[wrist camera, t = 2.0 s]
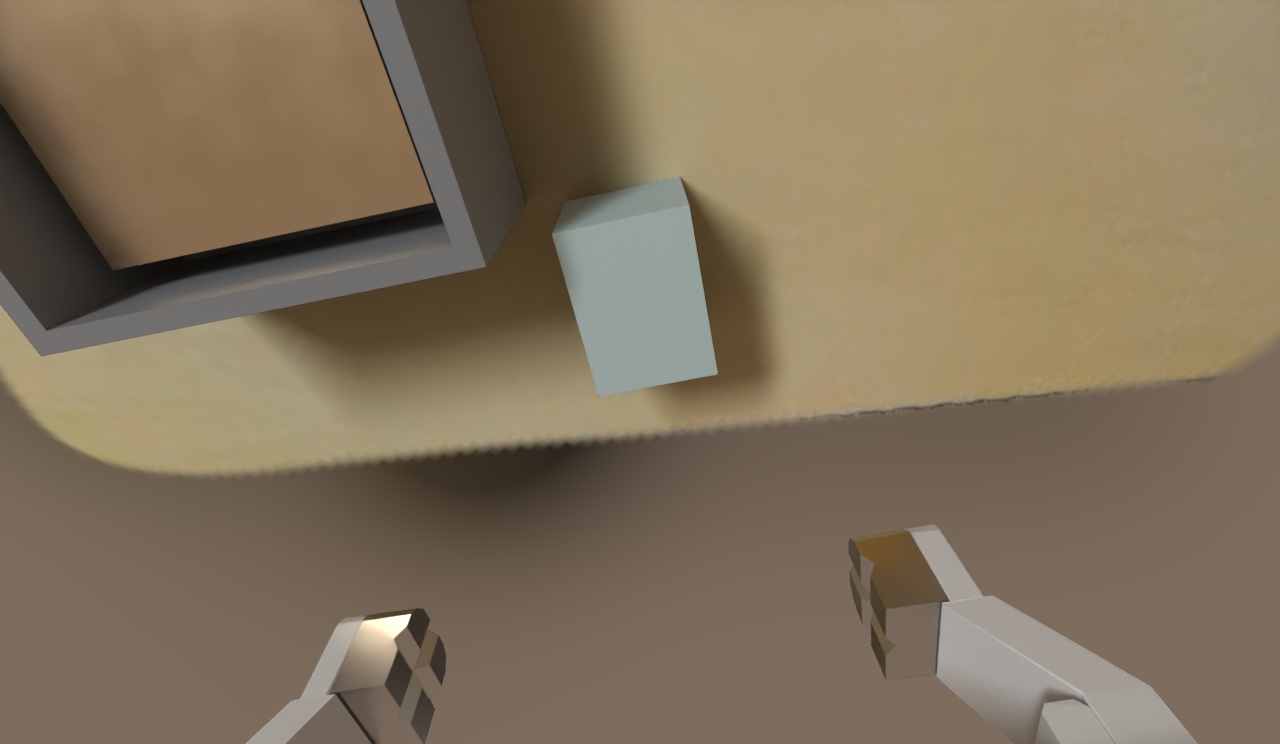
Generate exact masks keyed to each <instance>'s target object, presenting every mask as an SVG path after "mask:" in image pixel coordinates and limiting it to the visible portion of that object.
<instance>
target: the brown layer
mask: <svg viewBox="0 0 1280 744" xmlns="http://www.w3.org/2000/svg"><path fill="white" fill-rule="evenodd" d="M0 102H1V104H2V105H3V107H4V108H5V110H6V111H7V113H8V114H9V116H10V117H11V119H12V120H13V122H14V123H15V125H16V126H17V128H18V129H19V131H20V132H21V134H22V135H23V137H24V138H25V140H26V141H27V143H28V144H29V146H30V147H31V149H32V150H33V152H34V153H35V155H36V156H37V158H38V159H39V161H40V162H41V164H42V165H43V167H44V168H45V170H46V171H47V173H48V174H49V176H50V177H51V179H52V180H53V182H54V183H55V185H56V186H57V188H58V189H59V191H60V192H61V194H62V195H63V197H64V198H65V200H66V201H67V203H68V204H69V206H70V207H71V209H72V210H73V212H74V213H75V215H76V216H77V218H78V219H79V221H80V222H81V224H82V225H83V227H84V228H85V230H86V231H87V233H88V234H89V236H90V237H91V239H92V240H93V242H94V243H95V245H96V246H97V248H98V249H99V251H100V252H101V254H102V255H103V257H104V258H105V260H106V261H107V263H108V264H109V266H110V267H111V269H112V270H118V269H123V268H127V267H132V266H137V265H142V264H146V263H151V262H156V261H160V260H165V259H170V258H174V257H179V256H184V255H189V254H193V253H198V252H203V251H207V250H212V249H217V248H221V247H226V246H231V245H235V244H240V243H245V242H250V241H254V240H259V239H264V238H268V237H273V236H278V235H282V234H287V233H292V232H297V231H301V230H306V229H311V228H315V227H320V226H325V225H329V224H334V223H339V222H344V221H348V220H353V219H358V218H362V217H367V216H372V215H376V214H381V213H386V212H391V211H395V210H400V209H405V208H409V207H414V206H419V205H423V204H428V203H433V202H435V201H436V200H435V197H434V195H433V192H432V189H431V186H430V184H429V181H428V178H427V176H426V173H425V170H424V167H423V165H422V162H421V159H420V156H419V154H418V151H417V148H416V145H415V143H414V140H413V137H412V135H411V132H410V129H409V126H408V124H407V121H406V118H405V115H404V113H403V110H402V107H401V104H400V102H399V99H398V96H397V94H396V91H395V88H394V85H393V83H392V80H391V77H390V74H389V72H388V69H387V66H386V63H385V61H384V58H383V55H382V53H381V50H380V47H379V44H378V42H377V39H376V36H375V33H374V31H373V28H372V25H371V22H370V20H369V17H368V14H367V12H366V9H365V6H364V3H363V1H362V0H0Z"/></svg>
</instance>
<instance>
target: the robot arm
mask: <svg viewBox="0 0 1280 744" xmlns="http://www.w3.org/2000/svg"><path fill="white" fill-rule="evenodd" d="M849 555H850V558H851V560H852V562H853V565H854V566H853V567H852V568H851V570H850V584H851V589H852V594H853V599H854V602H855V605H856V609H857V611H858V614H859V617H860V619H861V622H862V624H864V625H865V626H867V627H868V628H870V629H871V646H872V648H873V651H874V653H875V655H876V658H877V660H878V662H879V665H880V667H881V670H882V672H883V675H884V677H885V679H886V680H892V679H900V678H909V677H918V676H927V675H936V674H937V678H938V679H940V680H941V681H942V682H943V683H944V684H945V685H946V686H948V687H949V688H950V689H951V690H952V691H953V692H955V693H956V694H957V695H958V696H959V697H960V698H961V699H963V700H964V701H965V702H966V703H967V704H968V705H970V706H971V707H972V708H973V709H974V710H975V711H976V712H978V713H979V714H980V715H981V716H983V718H985V719H986V720H987V721H988V722H989V723H990V724H992V725H993V726H994V727H995V728H996V729H997V730H998V731H1000V732H1001V733H1002V734H1003V735H1004V736H1005V737H1007V738H1008V739H1009V740H1010V741H1011V742H1013V743H1014V744H1197V743H1196V741H1195V740H1194V739H1193V738H1192V737H1191V735H1190V734H1189V733H1188V732H1187V731H1186V729H1185V728H1184V727H1183V726H1182V724H1181V723H1180V722H1179V721H1178V719H1177V718H1176V717H1175V716H1174V715H1173V713H1172V712H1171V711H1170V710H1169V708H1168V707H1167V706H1166V705H1165V704H1164V703H1163V701H1162V700H1161V699H1160V697H1159V696H1158V695H1157V694H1156V693H1155V691H1154V690H1153V689H1152V688H1151V687H1150V686H1149V685H1147V684H1145V683H1143V682H1142V681H1140V680H1138V679H1136V678H1135V677H1133V676H1131V675H1130V674H1128V673H1126V672H1125V671H1123V670H1121V669H1119V668H1117V667H1116V666H1114V665H1113V664H1111V663H1109V662H1107V661H1106V660H1104V659H1102V658H1100V657H1099V656H1097V655H1095V654H1094V653H1092V652H1090V651H1088V650H1087V649H1085V648H1083V647H1081V646H1080V645H1078V644H1076V643H1074V642H1073V641H1071V640H1069V639H1068V638H1066V637H1064V636H1063V635H1061V634H1059V633H1057V632H1056V631H1054V630H1052V629H1051V628H1049V627H1047V626H1045V625H1043V624H1042V623H1040V622H1039V621H1037V620H1035V619H1033V618H1032V617H1030V616H1028V615H1026V614H1025V613H1023V612H1021V611H1020V610H1018V609H1016V608H1014V607H1013V606H1011V605H1009V604H1007V603H1006V602H1004V601H1002V600H1001V599H999V598H997V597H995V596H994V595H992V596H984V595H983V594H982V592H981V591H980V589H979V588H978V586H977V585H976V583H975V582H974V580H973V579H972V577H971V576H970V574H969V572H968V571H967V569H966V568H965V567H964V565H963V564H962V562H961V560H960V559H959V557H958V556H957V554H956V553H955V551H954V550H953V548H952V547H951V545H950V544H949V542H948V541H947V539H946V538H945V536H944V535H943V533H942V532H941V530H940V529H939V528H938V527H937V526H935V525H934V524H933V525H926V526H921V527H914V528H909V529H905V530H903V529H902V530H895V531H890V532H884V533H878V534H872V535H866V536H861V537H855V538H850V540H849ZM429 622H430V618H429V617H428V615H427V614H426V612H425V610H424V609H422V608H415V609H408V610H400V611H393V612H384V613H377V614H370V615H365V616H358V617H351V618H345V619H343V620H342V621H341V622H340V623H339V624H338V625H337V626H336V628H335V630H334V632H333V634H332V636H331V638H330V640H329V642H328V644H327V646H326V648H325V650H324V652H323V654H322V656H321V658H320V660H319V662H318V664H317V666H316V668H315V670H314V672H313V674H312V676H311V678H310V680H309V682H308V684H307V686H306V688H305V690H304V692H303V694H302V696H301V698H300V699H298V700H292V701H291V702H290V703H289V704H288V705H287V706H286V707H285V708H284V709H282V711H280V712H279V713H278V714H277V715H276V716H275V717H274V718H273V719H272V720H271V721H269V722H268V723H267V724H266V725H265V726H264V727H263V728H262V729H261V730H260V731H259V732H258V733H257V734H255V735H254V737H252V738H251V739H250V740H249V741H248V742H247V743H246V744H425V742H426V738H427V735H428V731H429V728H430V724H431V721H432V718H433V714H434V711H435V709H434V706H433V704H432V702H431V698H432V696H433V695H434V694H435V693H436V692H437V691H438V690H439V688H440V687H441V686H442V682H443V678H444V675H445V669H446V653H445V649H444V645H443V642H442V640H441V638H440V637H439V635H438V634H436V633H434V632H433V631H431V630H429V629H427V628H428V625H429Z"/></svg>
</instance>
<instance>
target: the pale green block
mask: <svg viewBox="0 0 1280 744" xmlns="http://www.w3.org/2000/svg"><path fill="white" fill-rule="evenodd" d="M552 237H553V240H554V244H555V247H556V251H557V254H558V258H559V261H560V265H561V268H562V272H563V275H564V279H565V282H566V286H567V289H568V292H569V296H570V299H571V303H572V306H573V310H574V313H575V317H576V320H577V324H578V327H579V331H580V334H581V338H582V341H583V344H584V348H585V351H586V355H587V358H588V362H589V365H590V369H591V372H592V376H593V379H594V383H595V386H596V390H597V393H598V396H604V395H610V394H615V393H620V392H626V391H631V390H637V389H642V388H647V387H653V386H658V385H663V384H669V383H674V382H679V381H685V380H690V379H696V378H701V377H706V376H712V375H717V374H718V372H717V366H716V360H715V355H714V349H713V343H712V337H711V331H710V325H709V319H708V313H707V307H706V301H705V295H704V289H703V284H702V278H701V272H700V266H699V260H698V254H697V248H696V242H695V236H694V230H693V224H692V218H691V213H690V207H689V203H688V200H687V197H686V194H685V191H684V188H683V185H682V182H681V179H680V176H679V177H675V178H670V179H666V180H661V181H656V182H652V183H647V184H643V185H638V186H634V187H629V188H624V189H620V190H615V191H611V192H606V193H602V194H597V195H592V196H588V197H583V198H579V199H574V200H570V201H565V203H564V206H563V208H562V210H561V213H560V215H559V218H558V220H557V222H556V225H555V227H554V230H553V232H552Z"/></svg>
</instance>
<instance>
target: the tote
mask: <svg viewBox="0 0 1280 744" xmlns="http://www.w3.org/2000/svg"><path fill="white" fill-rule="evenodd" d="M362 1H363V3H364V6H365V9H366V12H367V14H368V17H369V20H370V22H371V25H372V28H373V31H374V33H375V36H376V39H377V42H378V44H379V47H380V50H381V53H382V55H383V58H384V61H385V63H386V66H387V69H388V72H389V74H390V77H391V80H392V83H393V85H394V88H395V91H396V94H397V96H398V99H399V102H400V104H401V107H402V110H403V113H404V115H405V118H406V121H407V124H408V126H409V129H410V132H411V135H412V137H413V140H414V143H415V145H416V148H417V151H418V154H419V156H420V159H421V162H422V165H423V167H424V170H425V173H426V176H427V178H428V181H429V184H430V186H431V189H432V192H433V195H434V197H435V200H436V201H435V202H433V203H428V204H423V205H419V206H414V207H409V208H405V209H400V210H395V211H391V212H386V213H381V214H376V215H372V216H367V217H362V218H358V219H353V220H348V221H344V222H339V223H334V224H329V225H325V226H320V227H315V228H311V229H306V230H301V231H297V232H292V233H287V234H282V235H278V236H273V237H268V238H264V239H259V240H254V241H250V242H245V243H240V244H235V245H231V246H226V247H221V248H217V249H212V250H207V251H203V252H198V253H193V254H189V255H184V256H179V257H174V258H170V259H165V260H160V261H156V262H151V263H146V264H142V265H137V266H132V267H127V268H123V269H118V270H112V269H111V267H110V266H109V264H108V263H107V261H106V260H105V258H104V257H103V255H102V254H101V252H100V251H99V249H98V248H97V246H96V245H95V243H94V242H93V240H92V239H91V237H90V236H89V234H88V233H87V231H86V230H85V228H84V227H83V225H82V224H81V222H80V221H79V219H78V218H77V216H76V215H75V213H74V212H73V210H72V209H71V207H70V206H69V204H68V203H67V201H66V200H65V198H64V197H63V195H62V194H61V192H60V191H59V189H58V188H57V186H56V185H55V183H54V182H53V180H52V179H51V177H50V176H49V174H48V173H47V171H46V170H45V168H44V167H43V165H42V164H41V162H40V161H39V159H38V158H37V156H36V155H35V153H34V152H33V150H32V149H31V147H30V146H29V144H28V143H27V141H26V140H25V138H24V137H23V135H22V134H21V132H20V131H19V129H18V128H17V126H16V125H15V123H14V122H13V120H12V119H11V117H10V116H9V114H8V113H7V111H6V110H5V108H4V107H3V105H2V104H1V102H0V305H1V306H2V307H3V309H4V310H5V311H6V312H7V314H8V315H9V316H10V317H11V319H12V320H13V321H14V323H15V324H16V325H17V326H18V328H19V329H20V330H21V331H22V333H23V334H24V335H25V337H26V338H27V339H28V340H29V342H30V343H31V344H32V345H33V347H34V348H35V349H36V350H37V352H38V353H39V354H40V356H46V355H51V354H56V353H61V352H66V351H71V350H76V349H81V348H86V347H91V346H96V345H101V344H106V343H111V342H116V341H121V340H126V339H131V338H136V337H141V336H146V335H151V334H156V333H161V332H166V331H170V330H175V329H180V328H185V327H190V326H195V325H200V324H205V323H210V322H215V321H220V320H225V319H230V318H235V317H240V316H245V315H250V314H255V313H260V312H265V311H270V310H275V309H280V308H285V307H290V306H295V305H300V304H305V303H310V302H315V301H320V300H325V299H330V298H335V297H340V296H345V295H350V294H354V293H359V292H364V291H369V290H374V289H379V288H384V287H389V286H394V285H399V284H404V283H409V282H414V281H419V280H424V279H429V278H434V277H439V276H444V275H449V274H454V273H459V272H464V271H469V270H474V269H479V268H484V267H486V266H487V265H488V263H489V262H490V260H491V259H492V257H493V256H494V254H495V252H496V251H497V249H498V248H499V246H500V245H501V243H502V241H503V240H504V238H505V237H506V235H507V234H508V232H509V231H510V229H511V227H512V226H513V224H514V223H515V221H516V220H517V218H518V216H519V215H520V213H521V212H522V210H523V209H524V207H525V205H526V202H525V199H524V195H523V192H522V188H521V185H520V182H519V178H518V175H517V171H516V168H515V165H514V161H513V158H512V154H511V151H510V147H509V144H508V141H507V137H506V134H505V130H504V127H503V124H502V120H501V117H500V113H499V110H498V106H497V103H496V100H495V96H494V93H493V89H492V86H491V83H490V79H489V76H488V72H487V69H486V66H485V62H484V59H483V55H482V52H481V48H480V45H479V42H478V38H477V35H476V31H475V28H474V25H473V21H472V18H471V14H470V11H469V7H468V4H467V1H466V0H362Z"/></svg>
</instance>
